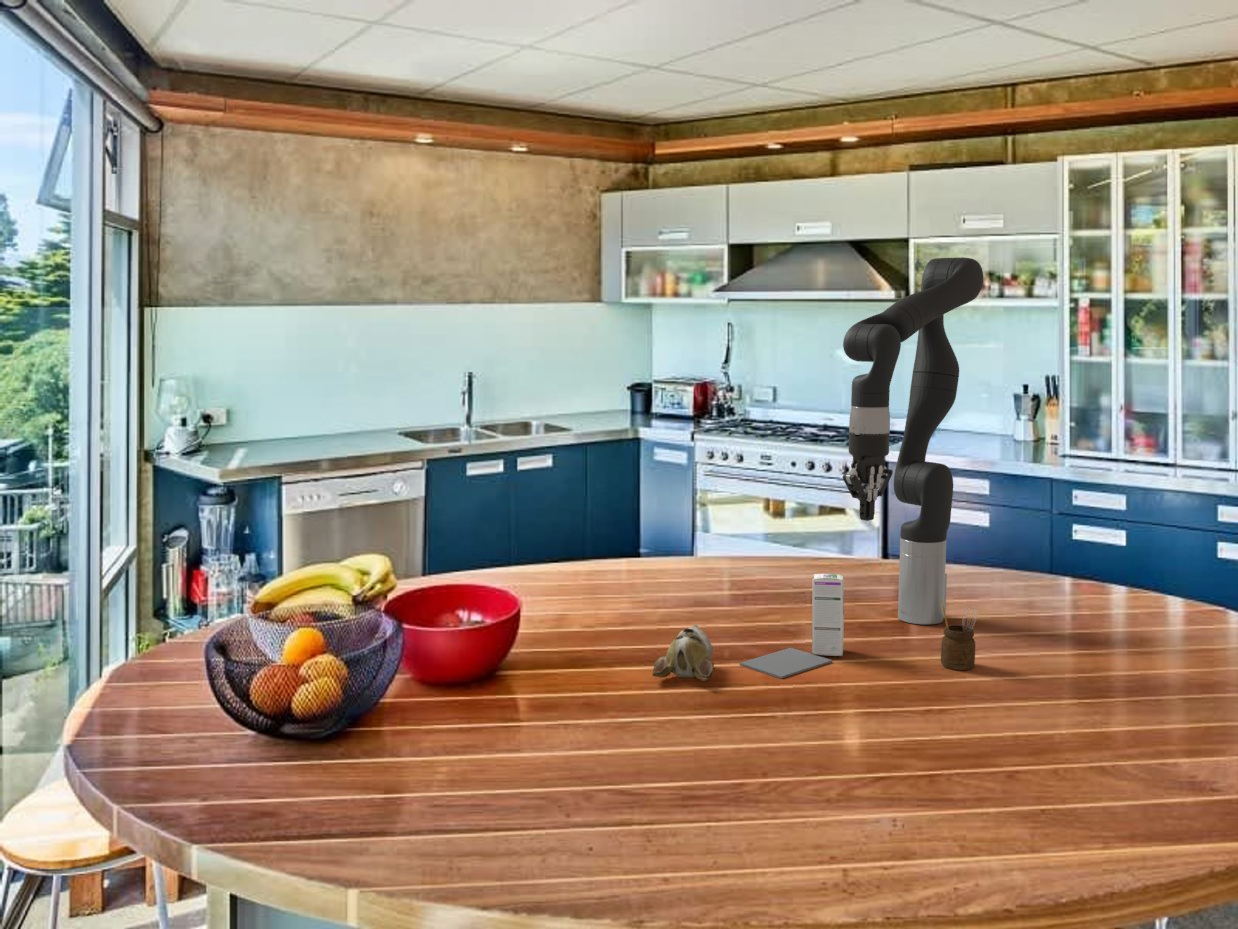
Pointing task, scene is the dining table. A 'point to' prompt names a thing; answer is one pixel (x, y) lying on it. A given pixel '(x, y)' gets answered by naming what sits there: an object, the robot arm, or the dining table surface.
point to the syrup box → (827, 614)
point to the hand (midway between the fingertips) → (866, 519)
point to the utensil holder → (958, 645)
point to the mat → (785, 663)
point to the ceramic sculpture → (687, 656)
